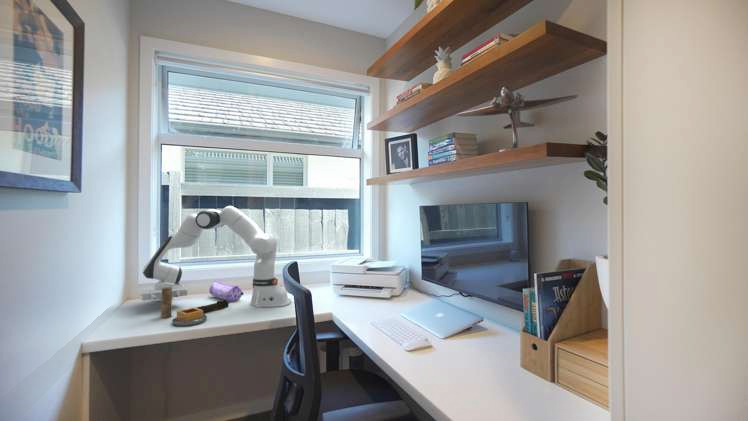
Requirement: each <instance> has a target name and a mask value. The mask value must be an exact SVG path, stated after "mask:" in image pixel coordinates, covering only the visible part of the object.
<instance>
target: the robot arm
mask: <svg viewBox="0 0 748 421" xmlns="http://www.w3.org/2000/svg"><path fill="white" fill-rule="evenodd" d="M223 226H227V227H228V228H229V229H230V230H232V232H234V233H235V234H236V235H237V236H238V237H240V238H241V239H242V240H243V241H244V242H245V243H246V245H247V246H248V247H249V248H250V249H251V251H252V252H253V254H256V255H255V261H254V264H253V277H252V294H251V300H250V303H249V304H250V306H254V307H255V308H270V307H272V308H274V307H286V306H288V305H290V304H291V303H292V299H291V298H290V297H288V291H287V290H286V289H285V288H283V287H282V286H280V285H279V284H278V281H279V279H278V277H277V278H276V277H275V265H276V264H275V263H276V262H275V261H276V256H277V246H278V240H277V238H276V237H275V236H274V235H273V234H271V233H265V232H263V230H262V229H261V228H260V227H259V226H258V224H257V223H256V222H254V221H253V220H252V219H251V218H250V217H249V216H247V215H246V214H245V213H244V212H242V211H241V210H239V209H238V208H236V207H234V206H232V205H228V206H225V207H224V208H222V209H218V208H217V209H216V208H215V209H214V208H211V209H204V210H201V211H199V212H198V213H189V214H188V215H187V216H186V217H185V218H184V220H183V222H182V223H181V225H180V227H179V229H178V230H177V232H176V233H174V234H173V235H169V236H168V237H167V238H165V239H164V241H163V242H162V244H161V245H160V246H159V248H158V250H156V252H155V254H153V255H152V257H151V258H150V260H148V262H147V263H146V264H145V265H144V267H143V269H142V274H143V276H144V277H145V278H146V279H151V280H157V282H156V283H155V285H154V288H153V289H151V290H144V291H143V292H142V293H141V294H140V296H141V301H150V300H153V301H156V300H159V301H162V288H163V287H172V299H173V298H178V297H186V296H188V288H187V286H186V285H184V284H183V283H180V281H181V279H182V275H183V270H182V268H181V267H180V265H176V264H175V265H174V264H170V263H167V262H162V261H161V260H162V259H163V257H164V256H165V255H166V253H167V252H168V251H169V250H172V249H184V248H189V247H192V246H194V245H195V244H196V243H197V242H198V240H199V238H200V237H201V234H202V233H203V230H210V229H211V230H213V229H214V230H215V229H218V228H222V227H223Z"/></svg>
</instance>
